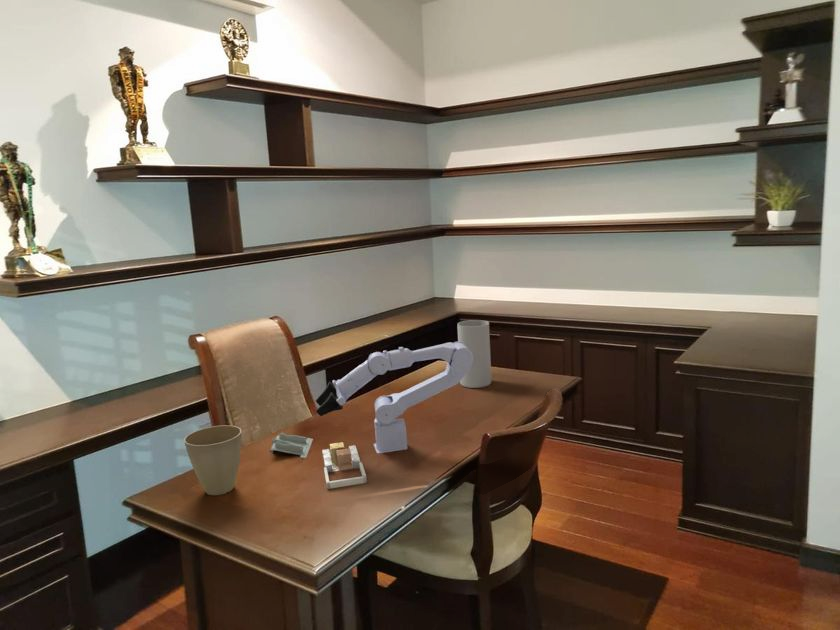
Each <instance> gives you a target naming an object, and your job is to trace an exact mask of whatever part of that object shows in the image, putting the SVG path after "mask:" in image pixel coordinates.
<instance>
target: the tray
mask: <svg viewBox="0 0 840 630" xmlns="http://www.w3.org/2000/svg"><path fill="white" fill-rule="evenodd" d="M358 469H359V471H360V474H361V476H356V477H350V478H344V479H343V478H342V479H337V480H336V479H335V480H331V481H330V478H329V472H327V467H325V466H324V467H323V473H324V478H325V484H326V489H327V490H329V489H335V488H336V489H337V488H342V487H348V486H349V487H350V486H354V485H362V484H367V483H368V480H367V479H368V478H367V477H368V476H367V474H366V471H365V468H364V465H363V462H362V461H360V462H359V468H358Z"/></svg>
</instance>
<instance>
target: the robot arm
mask: <svg viewBox="0 0 840 630" xmlns="http://www.w3.org/2000/svg"><path fill="white" fill-rule="evenodd" d="M435 359H439V360H442V361H443V360H444V361H445V362H446V367H445V370H444V371H442V372H441V373H438V374H436V375H434V376H432V377H430V378H427V379H426V380H424V381H421V382H420V383H417V384H416V385H413V386H411V387H410V388H408V389H405V390H403V391H401V392H397V393H395V392H394V393H391V394H389V395H381V396H379V397H377V398H376V399H375V400H374V404H373V405H374V406H373V407H374V411H375V412H374V413H375V414H374V415H375V419H374V420H373V423H374V433H375V434H374V436H375V443H373V446H374V449H375V451H376V454H383V453H391V452H396V451H403V450H408V439H407V438H408V437H407V426H406V423H405V420H404V418H398V417H400V416H402V415H403V414H404V412H406V411H407V409H409V408H410V407H411V408H412V407H413V406H415V405H417V404H419V403H421V402H423V401H425V400H427V399H429V398H432V397H433V396H435V395H437V394H439V393H441V392H444V391H446V390H447V389H450V388H452V387H454V386H456V385H458V384H459V383H460V381H461V379H462V378H463V377H464V375H465V374H466V372H467V371H468V370H469V369H470V368H471V367H472V363H473V354H472V352H471V351H470V350H469V349H468V348H467V346H466V345H465V344H464V343H463V342H459V341H458V340H457V341H454V342H445V343H442V344H436V345H433V346H428V347H423V348H419V349H416V350H410V349H409V348H407V347H406V348H405V347H403V346H398V349H393V350H389V351H387V349H386V350H383V351H382V352H381V351H375V352H373V353H372V352H371V353H370V354H369V355H368V357H367V359H366V360H365V361H364V362H362V363H361V364H359V365H358V366H357V367H355V368H354V369H352V370H351V371H350V372H349V373H347V374H346V375H345V376H343V377H342V378H341V379H337V380H335V379H333V380H332V382H331V381H329V382H328V383H327V385H326V387H325V388H324V390H323V391H322V392H321V394H319V396H318V397H317V398H316V400H315V402H316V404H317V405H318V406H319V407H318V408H317V409H316V411H315V412H316V413H317V415H319V416H320V417H323V416H325V415H327V414H330V413H332V412H335V411H341V410H343V409H344V406H343V404H345V403H346V402H347V401H348V399H349V398H350V397H351V396H352V395H353V394H355V393H356V392H357V391H359V390H360V389H361V388H363V387H365V385H367V384H368V383H369V382H370V381H372V380H373V379H374V378H375V377H377V376H378V375H385V374H386V373H387V371H395V370H399V369H405V368H410V367H411V366H412V365H413V363H415V362H421V361H429V360H435Z"/></svg>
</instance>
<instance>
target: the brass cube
mask: <svg viewBox="0 0 840 630" xmlns="http://www.w3.org/2000/svg"><path fill="white" fill-rule="evenodd" d="M341 449H345V444H344V442H342V441H341V442H335V443H329V452H330V455H331V460H332V462H334V461H337V457H336V450H341Z"/></svg>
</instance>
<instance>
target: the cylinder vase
mask: <svg viewBox="0 0 840 630" xmlns="http://www.w3.org/2000/svg"><path fill="white" fill-rule="evenodd" d="M456 328H457V341H459V342H463V343H464V344H465V345H466V346H467V348H468V349H469V350H470V351H471V352H472V354H473V363H472V367H471V368H470V369H469V370H468V371H467V372H466V374H465V375H464V377H463V378H462V379H461V381H460V382H459V383H460V385H461V386H463V387H464V388H468V389H469V388H470V389H478V388H479V389H480V388H485V387H487V386H490V385H491V384H492V363H491V359H492V358H491V342H490V340H491V339H490V321H488V320H481V319H469V320H463V321H459V322H458V323H457V327H456Z"/></svg>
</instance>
